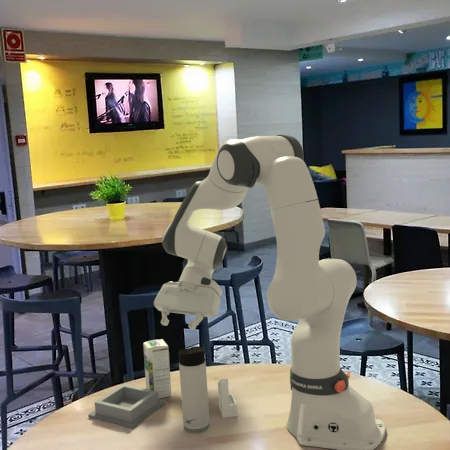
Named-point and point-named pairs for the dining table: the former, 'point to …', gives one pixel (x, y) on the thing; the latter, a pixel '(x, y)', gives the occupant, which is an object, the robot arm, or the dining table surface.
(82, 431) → the dining table surface
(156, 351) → the syrup box
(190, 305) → the robot arm
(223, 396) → the white angled block
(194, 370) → the travel mug
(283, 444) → the dining table surface
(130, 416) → the holder
